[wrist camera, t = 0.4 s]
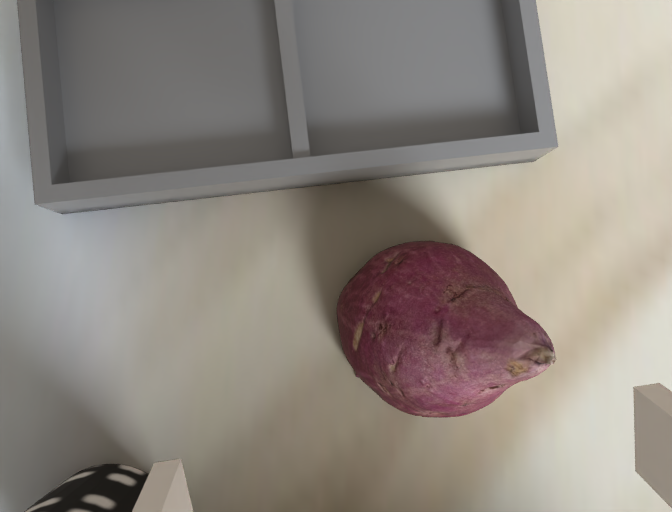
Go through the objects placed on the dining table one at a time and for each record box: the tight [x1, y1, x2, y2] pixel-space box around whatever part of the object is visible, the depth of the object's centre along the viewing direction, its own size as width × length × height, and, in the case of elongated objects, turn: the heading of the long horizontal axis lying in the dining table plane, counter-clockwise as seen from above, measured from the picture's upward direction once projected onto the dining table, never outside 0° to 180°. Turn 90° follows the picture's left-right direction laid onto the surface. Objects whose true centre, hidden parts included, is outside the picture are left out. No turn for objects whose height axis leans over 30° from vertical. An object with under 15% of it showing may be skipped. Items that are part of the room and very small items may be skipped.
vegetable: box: [337, 241, 556, 417], centre depth 29 cm, size 10×10×15 cm
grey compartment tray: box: [17, 0, 558, 214], centre depth 34 cm, size 15×30×4 cm, turn 97°
